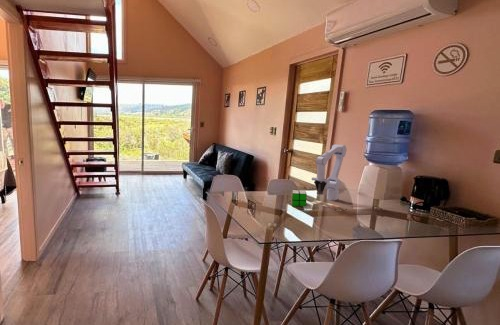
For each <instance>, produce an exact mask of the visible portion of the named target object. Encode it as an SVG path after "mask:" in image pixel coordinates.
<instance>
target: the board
mask: <svg viewBox="0 0 500 325" xmlns="http://www.w3.org/2000/svg"><path fill="white" fill-rule="evenodd" d="M309 203H310V204H315V205H318V206H323V207H326V208H330V209H334V211H336V212H343V211H345V210H348V207H344V206H342V205H338V204H332V203H329V202H325V201H321V200H314V201H310V202H309Z"/></svg>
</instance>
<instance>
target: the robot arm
mask: <svg viewBox="0 0 500 325" xmlns="http://www.w3.org/2000/svg"><path fill="white" fill-rule="evenodd" d="M347 151H348V150H347V146H346V144H332V145H331V148H330V150H328V151H325V152H324V153H322V154H321V155H320V156H317V157H316V159H315V164H316V177H311V181H314V182H313V183H314V186H315V188H316V191H317V192H318V185H319V184H320V185H321V192H323V193H324V190H325V188H326V190H327V191H326V200H328V201H336V200H341V199H339V198H340V190H339V189H340V187H341V186H340V185H341V180H340V179H339V175H340V171H341V167H342V164H343V160H344V158H345V157H346V154H347ZM333 155H334V156H335V157H336V158H335V160H334V164H333V168H332V172H331V174H330V176H329V177H327V178H326V177H325V175H326V165H327V164H328V161H329V160H330V159H332V156H333Z"/></svg>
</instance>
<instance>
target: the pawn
mask: <svg viewBox="0 0 500 325" xmlns="http://www.w3.org/2000/svg"><path fill="white" fill-rule="evenodd" d="M316 194H317V195H323V194H324V191H323V192H321V185H320V184H319V185H318V191H317V192H316Z"/></svg>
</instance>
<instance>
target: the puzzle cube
mask: <svg viewBox="0 0 500 325" xmlns="http://www.w3.org/2000/svg"><path fill="white" fill-rule="evenodd" d="M306 206H307V191H306V190H295V189H294V190H291V207H292V208H299V207H306Z"/></svg>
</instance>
